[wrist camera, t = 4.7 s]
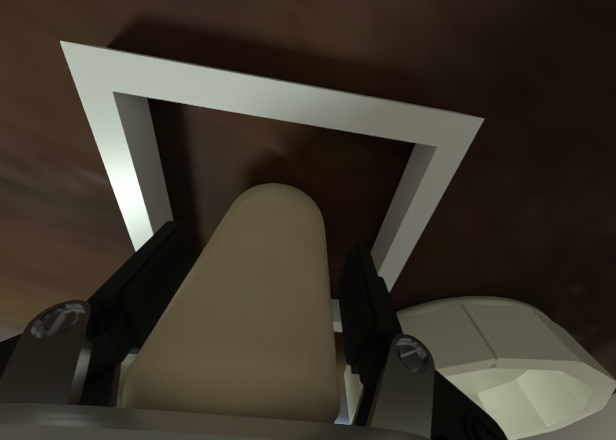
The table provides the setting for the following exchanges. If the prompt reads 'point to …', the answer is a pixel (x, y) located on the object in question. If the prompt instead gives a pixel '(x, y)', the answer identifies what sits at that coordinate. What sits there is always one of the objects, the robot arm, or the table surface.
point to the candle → (248, 320)
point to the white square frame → (265, 103)
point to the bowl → (506, 362)
